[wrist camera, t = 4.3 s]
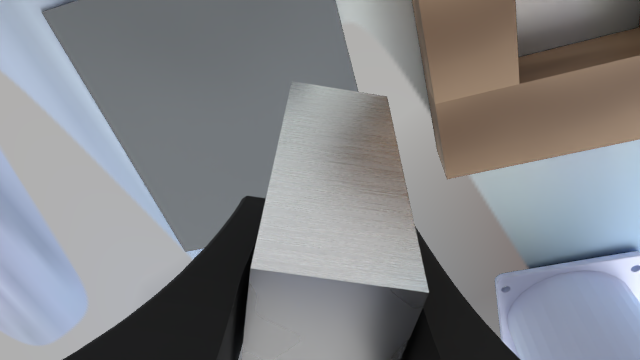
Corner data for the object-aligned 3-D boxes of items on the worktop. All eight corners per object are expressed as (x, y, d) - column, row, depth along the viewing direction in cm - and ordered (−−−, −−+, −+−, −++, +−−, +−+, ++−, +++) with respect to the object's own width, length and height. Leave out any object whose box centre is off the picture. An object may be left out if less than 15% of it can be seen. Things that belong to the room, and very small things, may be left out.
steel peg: (386, 96, 14) (428, 292, 8) (360, 197, 16) (375, 418, 10) (291, 81, 14) (250, 268, 7) (278, 185, 16) (237, 401, 10)
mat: (388, 209, 24) (388, 211, 24) (185, 250, 27) (185, 251, 27) (315, -78, 17) (315, -78, 17) (42, 11, 19) (41, 12, 19)
